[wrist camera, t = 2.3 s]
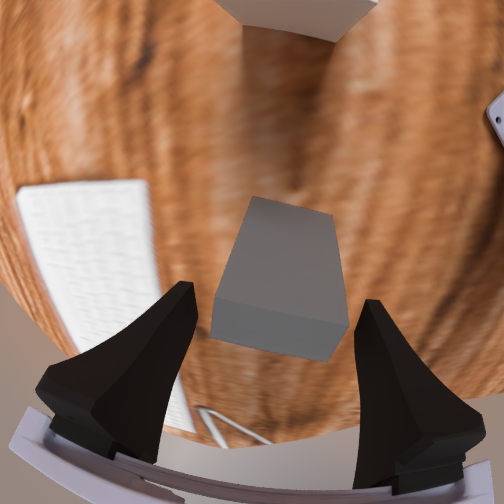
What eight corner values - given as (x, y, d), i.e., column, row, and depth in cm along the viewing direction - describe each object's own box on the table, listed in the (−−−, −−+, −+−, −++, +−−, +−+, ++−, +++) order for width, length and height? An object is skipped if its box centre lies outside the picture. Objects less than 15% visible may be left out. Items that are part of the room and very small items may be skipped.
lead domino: (321, 247, 19) (327, 362, 12) (246, 229, 19) (209, 337, 12) (332, 215, 18) (349, 325, 10) (252, 196, 18) (214, 296, 10)
